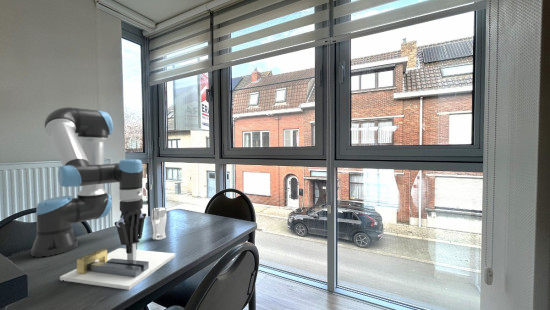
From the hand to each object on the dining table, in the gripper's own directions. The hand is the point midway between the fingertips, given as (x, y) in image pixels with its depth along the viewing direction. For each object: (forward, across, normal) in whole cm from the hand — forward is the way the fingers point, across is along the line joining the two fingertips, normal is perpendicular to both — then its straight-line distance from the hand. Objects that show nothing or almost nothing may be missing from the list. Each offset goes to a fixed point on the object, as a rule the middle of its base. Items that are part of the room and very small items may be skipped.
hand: (131, 260), depth 89 cm
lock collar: (+1, -5, +12) cm, 13 cm away
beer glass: (+3, +28, +10) cm, 30 cm away
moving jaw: (+1, -3, -1) cm, 4 cm away
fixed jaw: (+1, -7, +3) cm, 8 cm away
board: (+3, -1, +3) cm, 4 cm away
